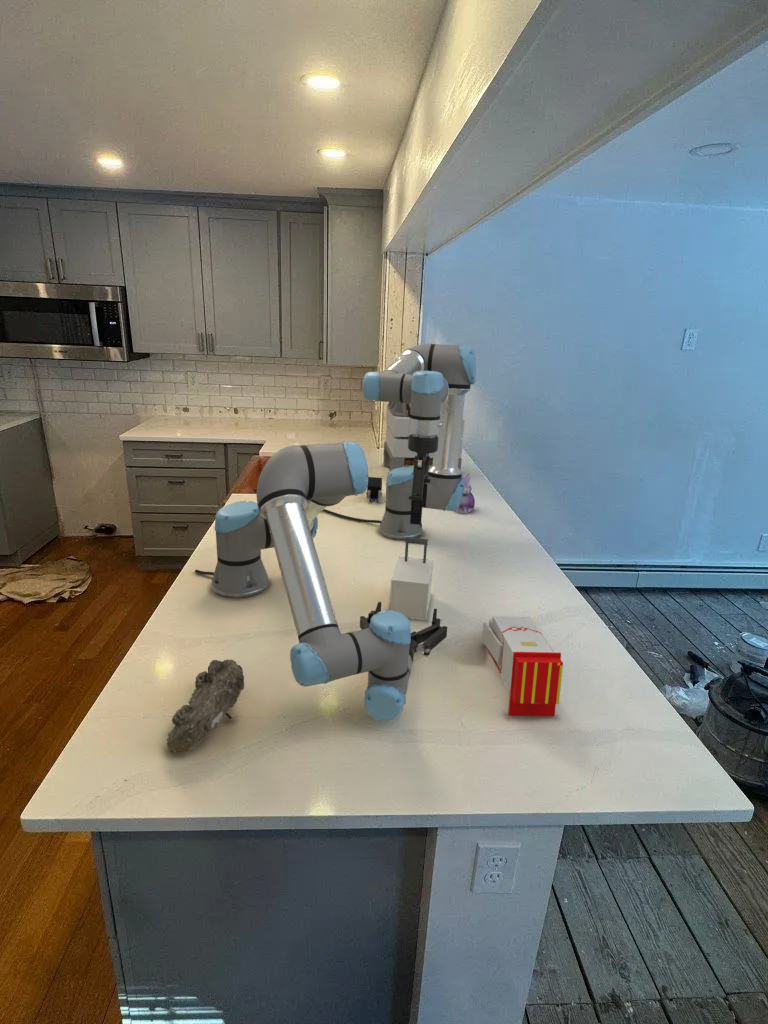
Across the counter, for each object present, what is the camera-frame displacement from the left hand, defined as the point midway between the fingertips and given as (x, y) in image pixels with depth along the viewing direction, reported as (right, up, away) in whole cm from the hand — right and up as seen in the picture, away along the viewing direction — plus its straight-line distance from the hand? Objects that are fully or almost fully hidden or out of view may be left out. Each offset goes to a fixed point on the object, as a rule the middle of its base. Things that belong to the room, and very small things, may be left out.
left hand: (407, 610), depth 138 cm
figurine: (+26, +25, +89) cm, 96 cm away
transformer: (+12, +43, +137) cm, 144 cm away
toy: (+23, -12, -13) cm, 29 cm away
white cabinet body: (+1, -1, +14) cm, 14 cm away
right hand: (+3, +23, +11) cm, 26 cm away
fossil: (-38, -15, -30) cm, 51 cm away
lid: (+2, +8, +12) cm, 14 cm away
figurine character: (-10, +29, +98) cm, 102 cm away
